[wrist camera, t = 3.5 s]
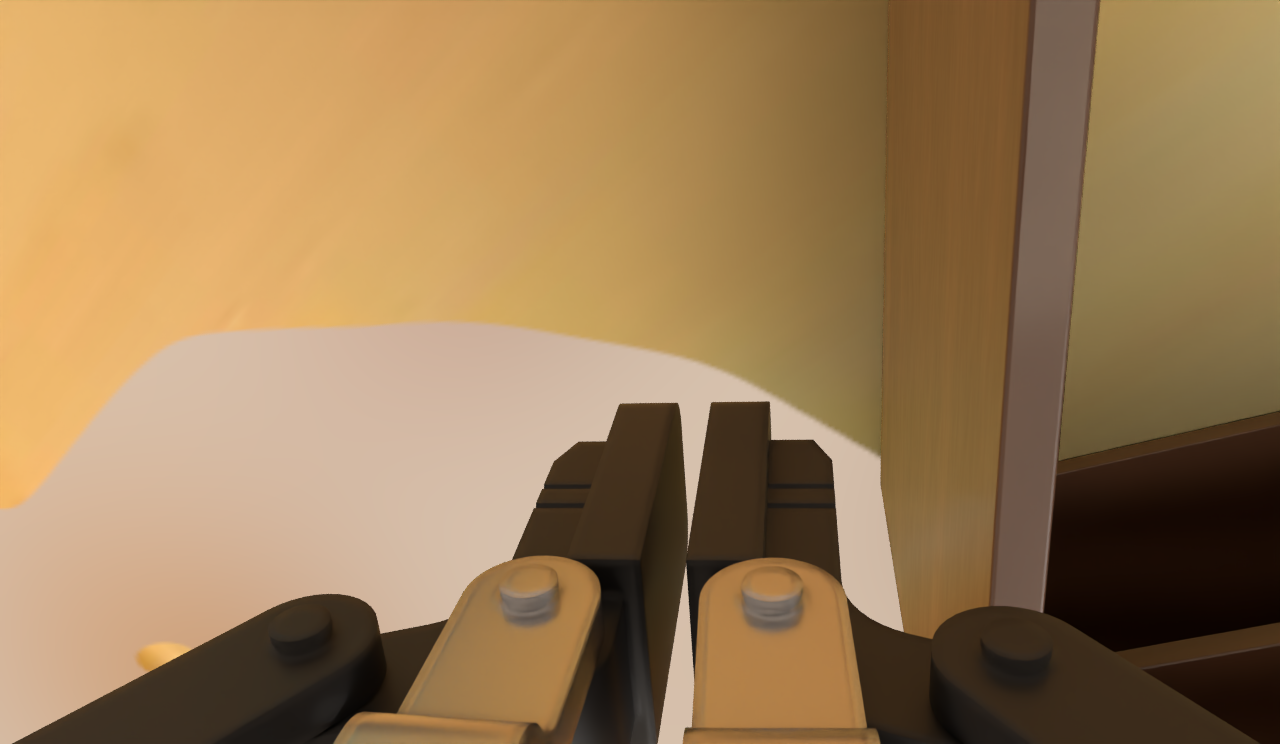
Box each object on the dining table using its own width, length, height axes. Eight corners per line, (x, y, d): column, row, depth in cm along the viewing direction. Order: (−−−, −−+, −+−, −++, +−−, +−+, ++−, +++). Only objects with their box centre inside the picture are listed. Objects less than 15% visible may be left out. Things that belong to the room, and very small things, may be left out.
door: (745, 484, 46) (706, 988, 25) (718, -180, 36) (610, -312, 14) (903, 484, 45) (1008, 1009, 24) (922, -199, 35) (1137, -373, 13)
